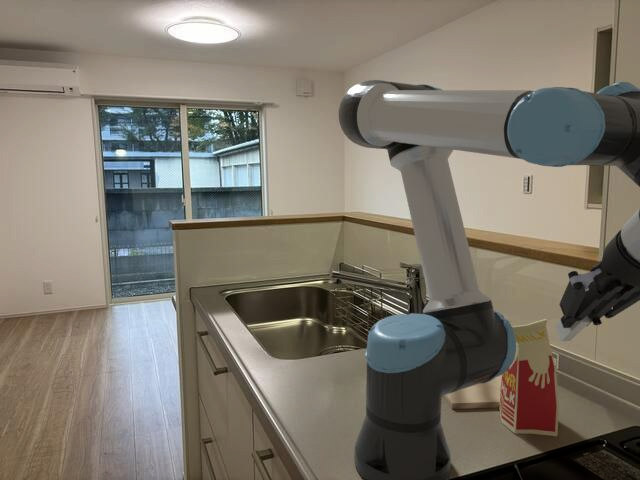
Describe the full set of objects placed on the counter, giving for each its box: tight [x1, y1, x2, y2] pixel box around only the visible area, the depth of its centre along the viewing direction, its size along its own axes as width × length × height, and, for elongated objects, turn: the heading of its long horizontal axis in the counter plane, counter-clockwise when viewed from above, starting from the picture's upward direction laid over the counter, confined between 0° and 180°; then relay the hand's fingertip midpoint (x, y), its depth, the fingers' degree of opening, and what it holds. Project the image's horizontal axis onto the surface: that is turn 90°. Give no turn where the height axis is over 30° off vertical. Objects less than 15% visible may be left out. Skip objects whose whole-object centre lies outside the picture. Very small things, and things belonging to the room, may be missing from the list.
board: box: [442, 375, 502, 410], centre depth 102 cm, size 18×16×1 cm
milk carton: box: [498, 318, 560, 437], centre depth 87 cm, size 9×9×20 cm
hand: (562, 333), depth 76 cm, fingers closed
